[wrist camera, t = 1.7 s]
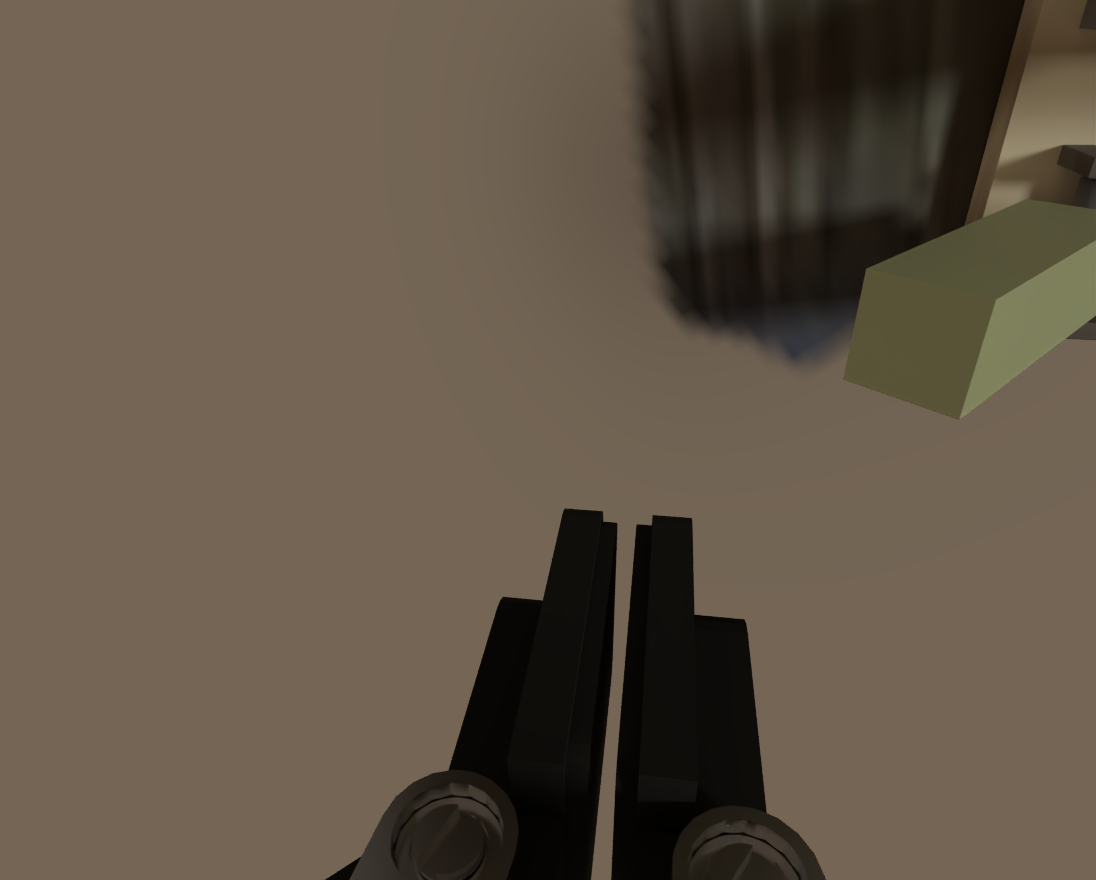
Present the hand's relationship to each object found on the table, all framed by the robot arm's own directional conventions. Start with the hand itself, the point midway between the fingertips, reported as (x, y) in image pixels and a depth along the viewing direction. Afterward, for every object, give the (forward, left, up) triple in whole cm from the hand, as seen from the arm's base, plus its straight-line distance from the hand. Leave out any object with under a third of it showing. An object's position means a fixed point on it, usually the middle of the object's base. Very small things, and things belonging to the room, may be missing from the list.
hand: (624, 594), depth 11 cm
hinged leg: (0, +14, -19) cm, 23 cm away
